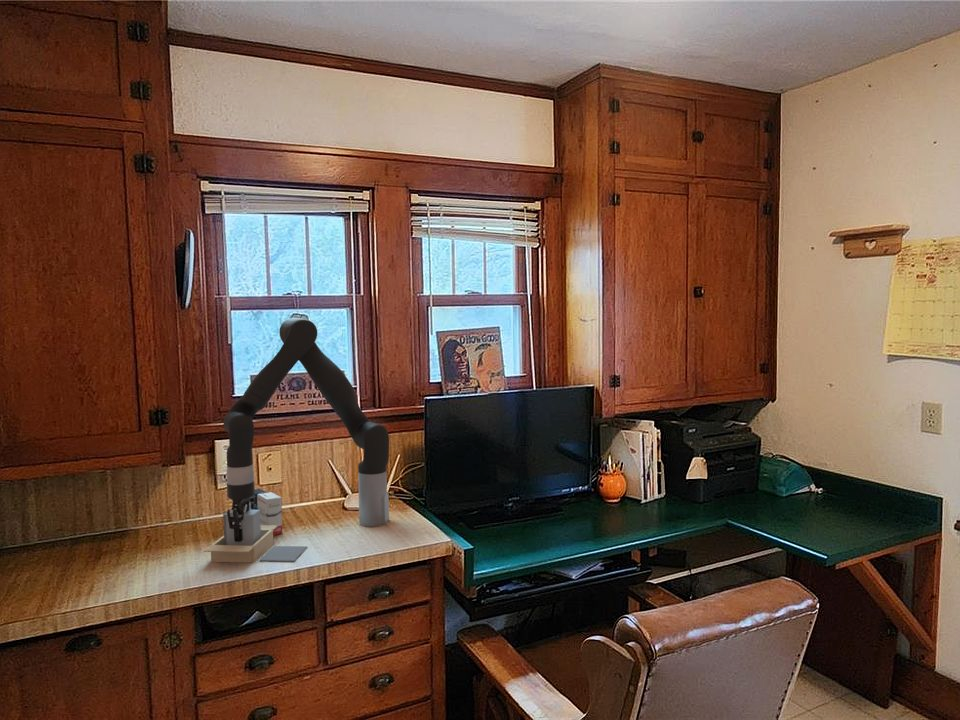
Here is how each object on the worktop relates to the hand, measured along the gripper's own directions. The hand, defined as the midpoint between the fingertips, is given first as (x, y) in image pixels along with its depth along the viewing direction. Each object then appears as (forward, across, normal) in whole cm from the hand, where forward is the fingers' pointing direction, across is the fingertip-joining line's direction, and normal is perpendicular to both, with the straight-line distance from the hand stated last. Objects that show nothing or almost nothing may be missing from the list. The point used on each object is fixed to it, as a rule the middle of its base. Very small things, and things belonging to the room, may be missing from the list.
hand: (242, 537), depth 191 cm
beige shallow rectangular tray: (+4, 0, 0) cm, 4 cm away
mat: (+4, -1, -12) cm, 13 cm away
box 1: (+4, 0, 0) cm, 4 cm away
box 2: (+5, +26, +8) cm, 28 cm away
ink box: (+5, +18, -1) cm, 19 cm away
